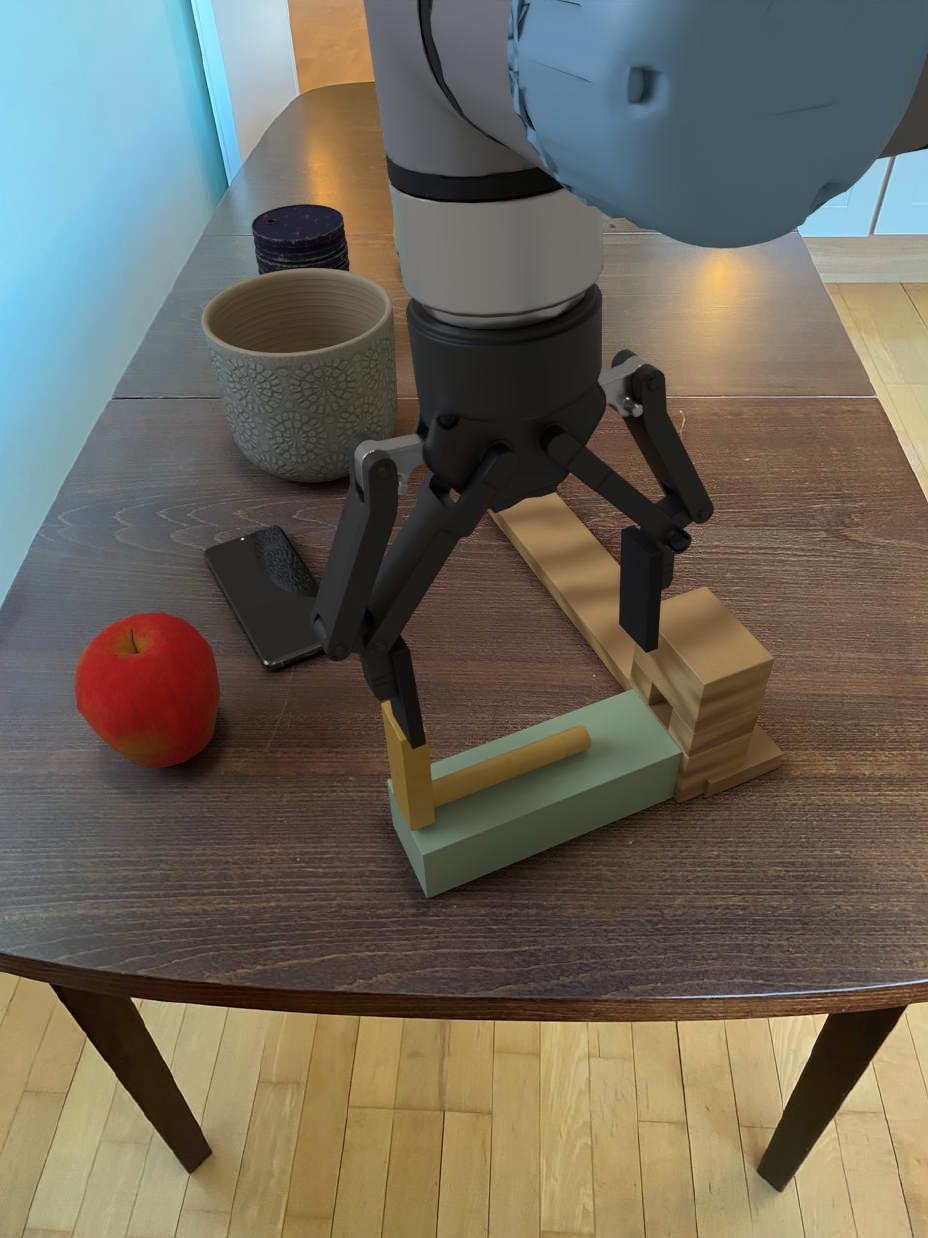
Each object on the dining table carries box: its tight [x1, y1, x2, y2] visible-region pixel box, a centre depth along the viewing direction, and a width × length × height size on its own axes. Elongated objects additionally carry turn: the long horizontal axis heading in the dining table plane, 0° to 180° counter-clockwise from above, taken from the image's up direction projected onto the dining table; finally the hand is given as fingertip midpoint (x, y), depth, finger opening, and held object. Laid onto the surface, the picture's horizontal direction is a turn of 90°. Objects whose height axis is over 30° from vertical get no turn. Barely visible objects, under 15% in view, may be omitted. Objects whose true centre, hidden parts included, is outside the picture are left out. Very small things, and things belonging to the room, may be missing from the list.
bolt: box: [380, 700, 591, 832], centre depth 56 cm, size 3×13×9 cm, turn 114°
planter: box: [201, 268, 399, 484], centre depth 89 cm, size 17×17×15 cm
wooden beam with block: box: [486, 492, 785, 804], centre depth 77 cm, size 49×14×12 cm, turn 24°
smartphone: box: [203, 524, 324, 671], centre depth 79 cm, size 7×1×16 cm
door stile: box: [386, 689, 682, 899], centre depth 62 cm, size 6×18×5 cm, turn 114°
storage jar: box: [251, 203, 351, 275], centre depth 104 cm, size 10×10×15 cm
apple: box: [74, 612, 222, 769], centre depth 64 cm, size 9×9×12 cm
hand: (527, 681), depth 50 cm, fingers open, 13 cm apart
